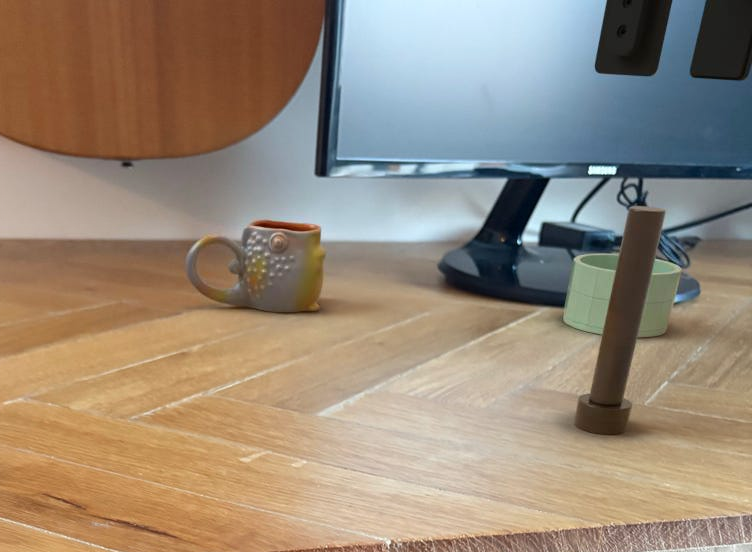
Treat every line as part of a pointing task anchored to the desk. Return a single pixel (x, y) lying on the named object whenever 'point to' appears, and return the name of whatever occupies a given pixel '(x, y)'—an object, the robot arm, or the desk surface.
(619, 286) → the stick
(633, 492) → the desk surface
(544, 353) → the desk surface
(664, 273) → the bowl
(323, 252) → the mug
